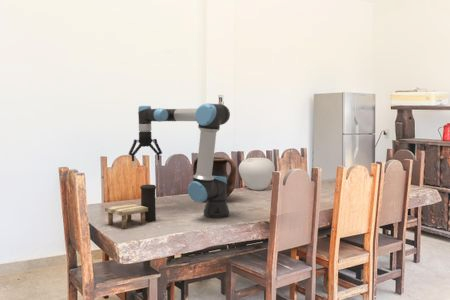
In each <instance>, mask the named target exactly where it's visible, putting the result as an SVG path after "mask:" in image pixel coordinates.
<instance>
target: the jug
mask: <svg viewBox="0 0 450 300" xmlns="http://www.w3.org/2000/svg"><path fill="white" fill-rule="evenodd" d="M197 162H198V157H196V158H195V159H194V161H193V164H192V175H193V176H194V175H195V174H196V172H197ZM227 165H229V166H230V173H229V174H228V171H227V167H228V166H227ZM236 175H237V166H236V163H235V161H234V160H233V159H232V158H231V157H223V156H222V157H220V156H215V157H214V159H213V168H212V176H221V177H225V178H226V181H227V198H226V202H227V199H228V197H230V195H231V194H232V192H233V191H234V190H235V187H236V180H237V179H236V178H237V177H236ZM206 202H207V200H206V201H205V203H206Z"/></svg>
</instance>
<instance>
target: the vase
mask: <svg viewBox="0 0 450 300" xmlns="http://www.w3.org/2000/svg"><path fill="white" fill-rule="evenodd" d="M275 170H276V167H275V164H274V163H273V161H272V160H270V159H269V158H266V157H248V158H244V159H243V160H242V161H241V162H240V164H239V165H238V173H239V175H240V178H241V180H242V182H243V183H244V185H245V186H246V187H247V188H249V189H251V190H252V191H263V190H265V189H266V188H267V187H268V186H269V185H270V183H271V181H272V179H273V177H272V172H274V171H275ZM275 172H276V171H275ZM275 172H274V173H275Z"/></svg>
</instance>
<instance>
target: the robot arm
mask: <svg viewBox="0 0 450 300" xmlns="http://www.w3.org/2000/svg"><path fill="white" fill-rule="evenodd" d="M137 110H138V112H137V114H138V115H137V116H138V131H139V132H138V139H133V143H132V145H131V147H130V149H129V151H128V155H129V156H131V162H132V163H133V168H136V167H137V166H136V165H137V164H136V163H137V161H136V160H137V158H136V154H137V153H138V152H139V150H140V149H141V148H142V147H143V148H144V147H149V148H150V149H151V150H152V151H153V152H154V153H155V160H154V162H155V164H154V165H155V166H156V167H157V166H158V164H159V162H158V161H160V155H162V154H163V151H162V149H161V147H160V146H159V144H158V140H157V138H152V122H162V123H163V122H196V123H197V124H198V127H197V128H198V130H199V131H200V134H199V143H198V154H197V158H198V162H197V172H196V174H195V175H193V178H192V181H191V182H190V183H189V184H188V186H187V193H188V196H189V197H190V199H191V200H192V201H194V202H195V203H200V202H202V203H203V202H205V206H204V209H203V216H204V217H205V218H209V219H221V218H227V217H229V216H230V210H229V206H228V203H227V201H226V198H227V199H228V197H227V181H226V178H225V177H221V176H212V168H213V159H214V156H215V150H216V149H215V148H216V138H217V133H218V132H219V131H220V129H221V128H220V126H222V125H225V124H226V123H227V122H228V121H229V120H230V117H231V112H230V109H229V108H228V107H227V105H224V104H221V103H209V102H208V103H203V104H201V105H199V106H198V107H196V108H152V106H151V105H139V106H138V109H137ZM152 142H153V143H154V145H155V146H154V145H153V144H152ZM138 143H139V144H138ZM137 144H138V146H137ZM136 146H137V147H136ZM155 147H156V148H155ZM206 200H207V202H206Z"/></svg>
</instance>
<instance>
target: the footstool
mask: <svg viewBox="0 0 450 300" xmlns="http://www.w3.org/2000/svg"><path fill="white" fill-rule="evenodd" d="M146 211H148V207H144V206H141V204H140V205H139V204H134V203H131V202H130V203H123V204H118V205H112V206H107V207H105V208H104V212H106V213H107V215H108V216H107V220H108V221H107V223H108V226H112V225H113V224H114V215H117V216H121V229H123V230H126V229H128V228H127V227H128V226H127V224H128V223H127V222H131V221H132V215H136V214H140V225H141V224H142V225H143V224H144V225H146V222H145V212H146Z"/></svg>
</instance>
